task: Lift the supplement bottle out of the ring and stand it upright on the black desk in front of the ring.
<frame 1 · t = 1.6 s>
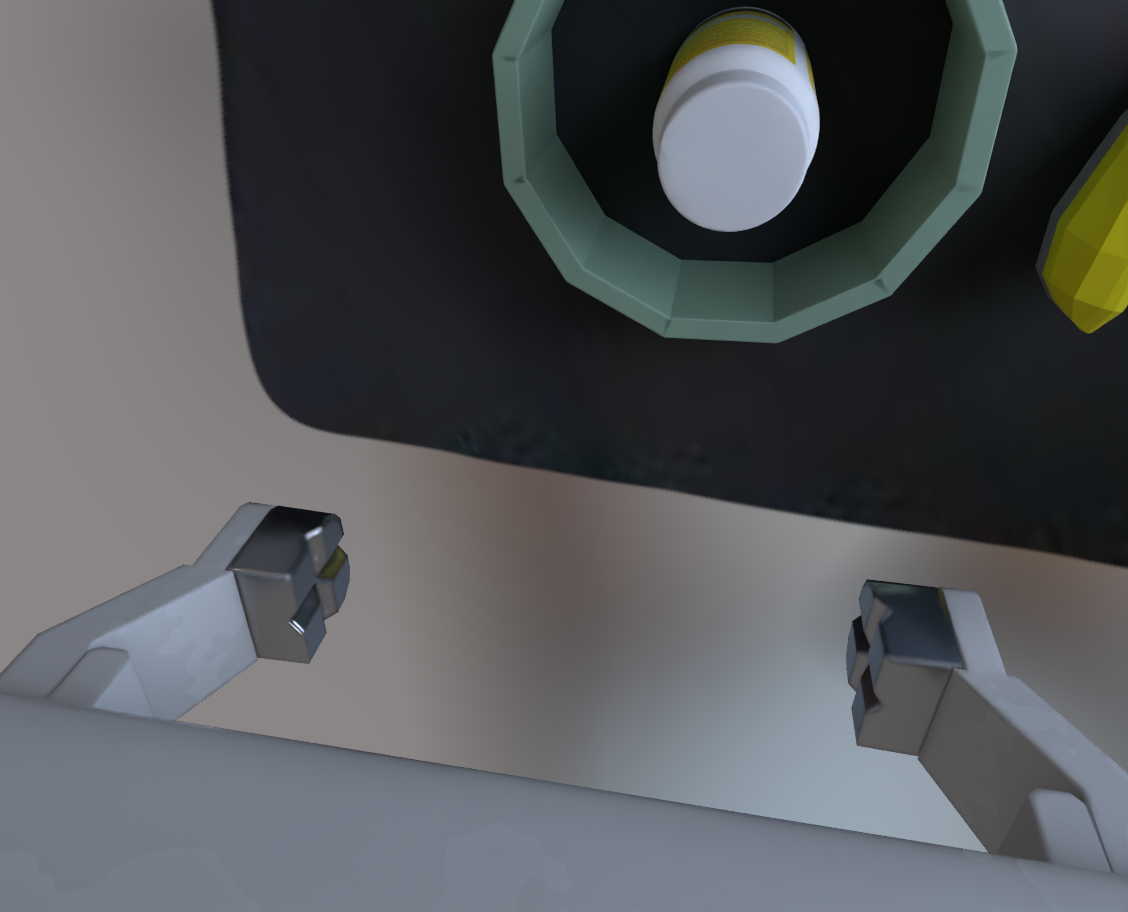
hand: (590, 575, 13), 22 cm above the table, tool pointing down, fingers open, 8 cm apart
ring: (739, 82, 29), on the table
supplement bottle: (739, 81, 29), resting in ring
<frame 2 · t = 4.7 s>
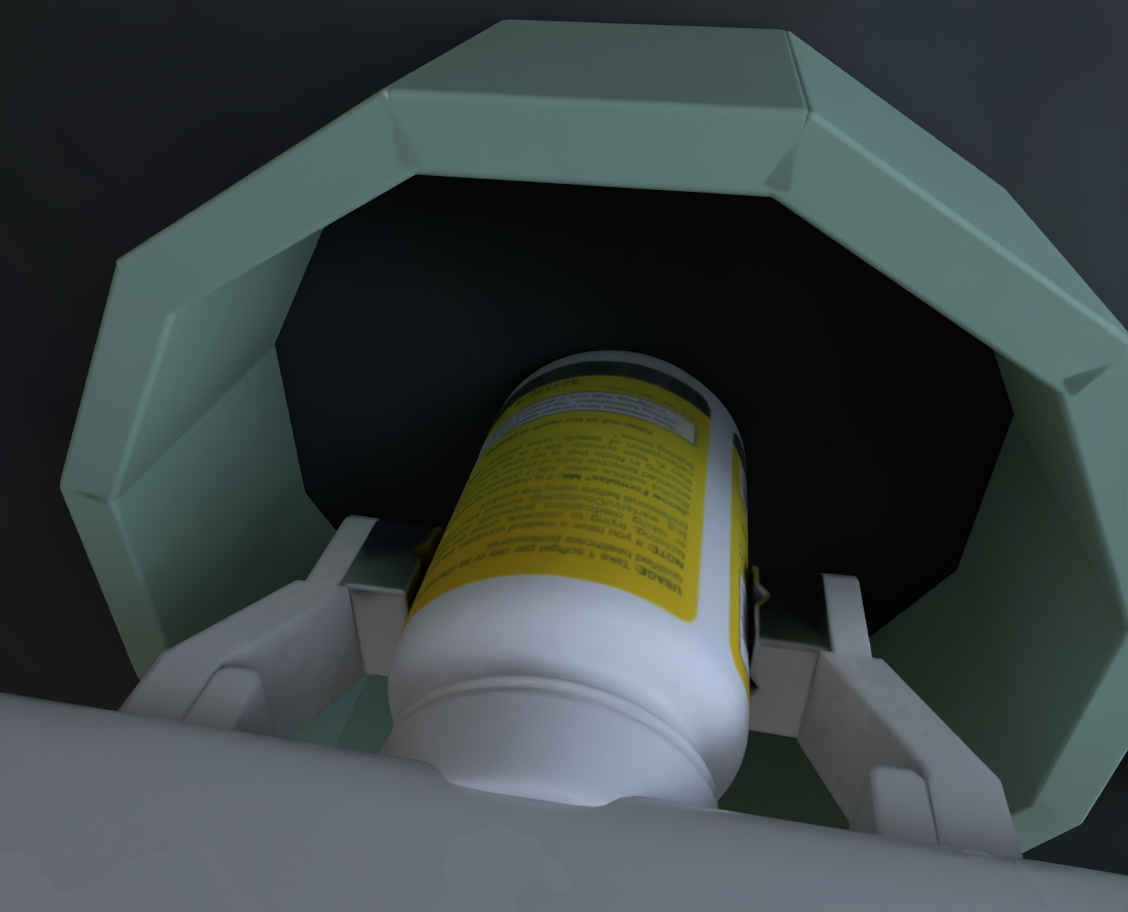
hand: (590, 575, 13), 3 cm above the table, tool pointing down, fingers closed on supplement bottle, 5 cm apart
ring: (617, 457, 16), on the table
supplement bottle: (619, 451, 16), resting in ring, touching gripper
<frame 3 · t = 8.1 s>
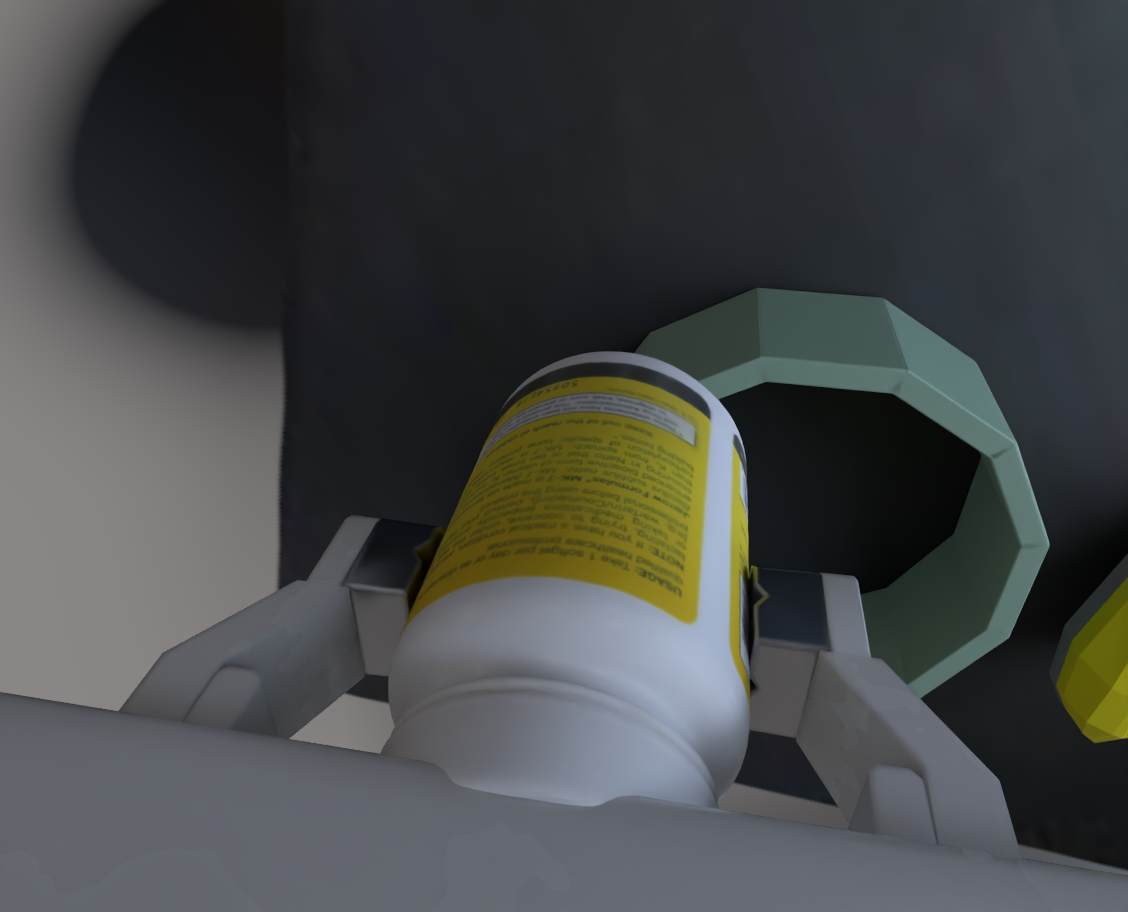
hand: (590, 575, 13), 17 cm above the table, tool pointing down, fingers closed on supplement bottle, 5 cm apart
ring: (782, 476, 31), on the table
supplement bottle: (619, 452, 16), point 13 cm above the table, touching gripper
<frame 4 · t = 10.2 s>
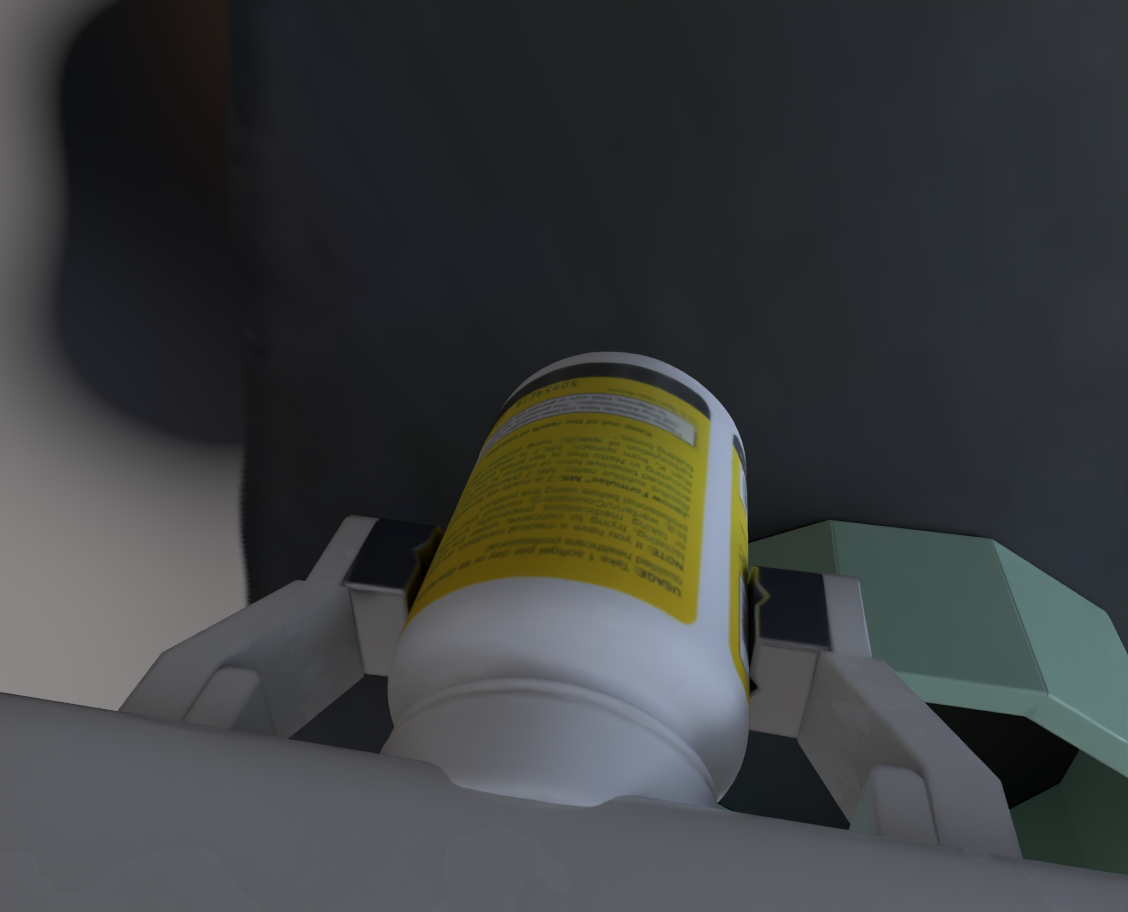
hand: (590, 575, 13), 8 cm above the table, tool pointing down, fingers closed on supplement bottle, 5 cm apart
ring: (850, 713, 25), on the table
supplement bottle: (619, 452, 16), point 5 cm above the table, touching gripper
when the fingers open (3 cm above the table, at t = 11.8 s): supplement bottle stays where it is, on the table.
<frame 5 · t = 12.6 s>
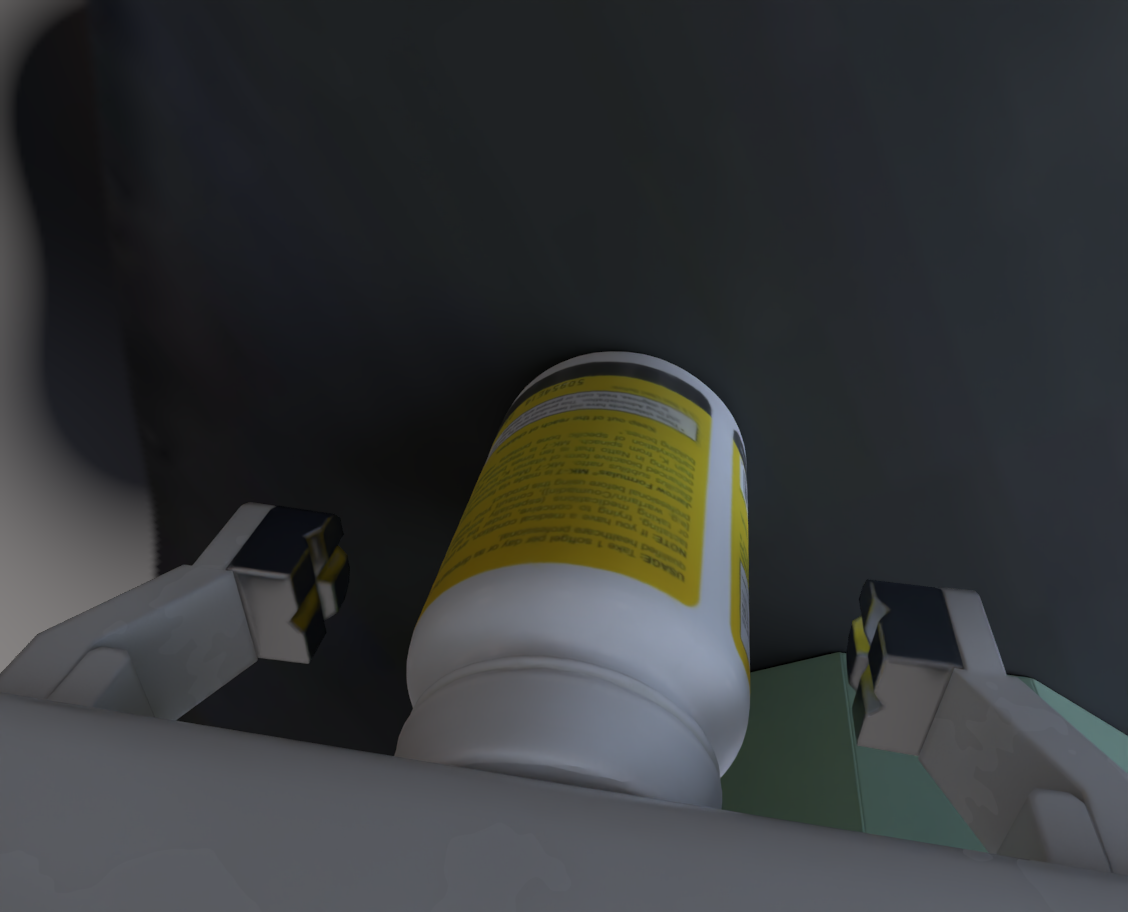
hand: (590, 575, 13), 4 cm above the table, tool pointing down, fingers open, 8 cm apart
ring: (862, 853, 22), on the table
supplement bottle: (623, 449, 17), on the table
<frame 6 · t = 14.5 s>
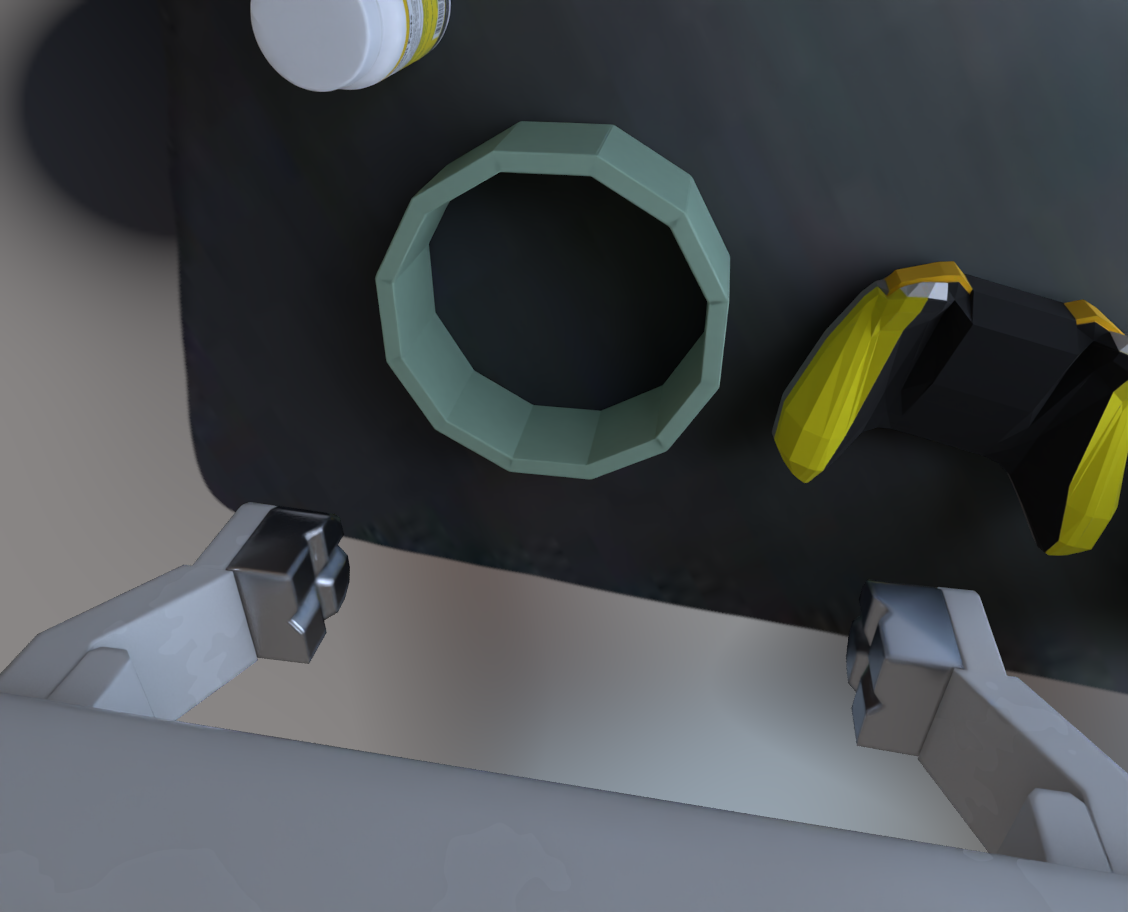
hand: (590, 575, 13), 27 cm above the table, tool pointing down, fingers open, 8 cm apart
ring: (566, 287, 39), on the table
gaming controller: (955, 372, 38), on the table
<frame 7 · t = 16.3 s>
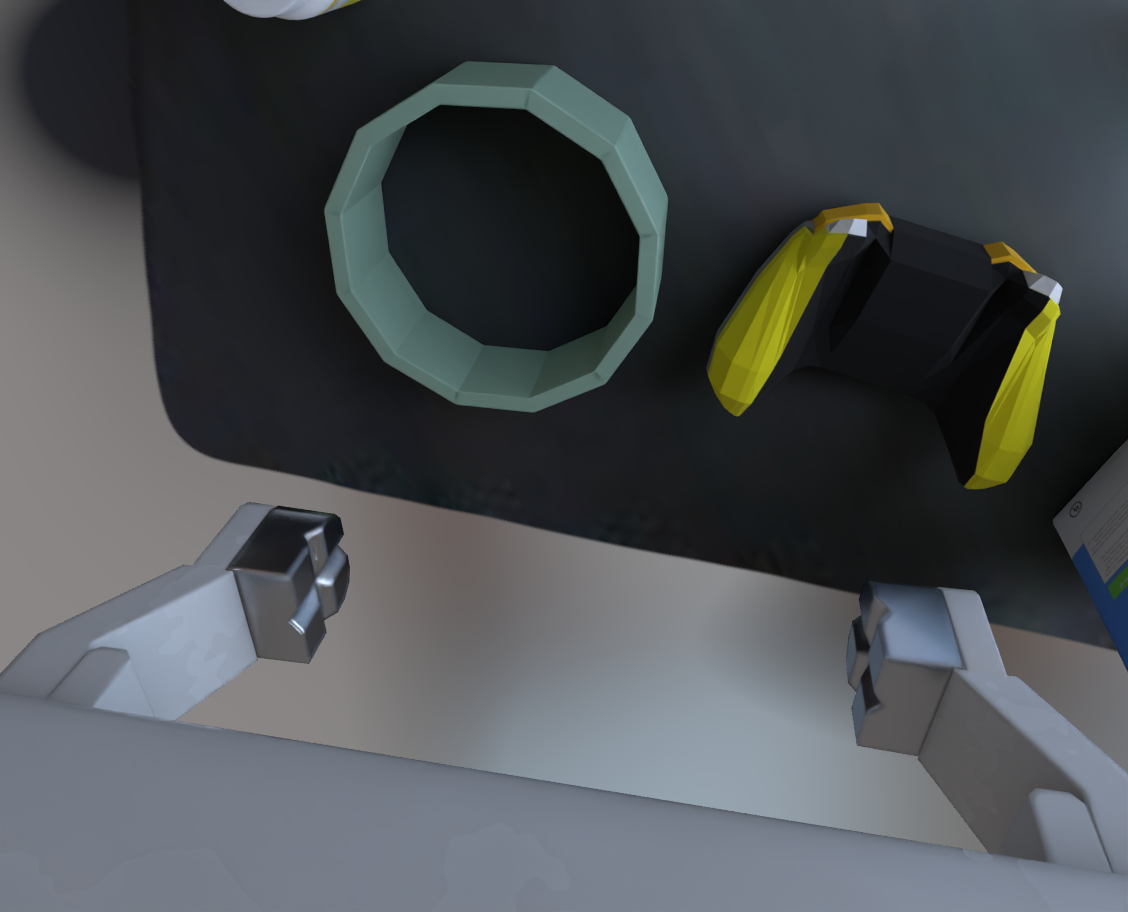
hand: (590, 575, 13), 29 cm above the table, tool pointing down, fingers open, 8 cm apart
ring: (513, 227, 41), on the table
gaming controller: (884, 314, 40), on the table
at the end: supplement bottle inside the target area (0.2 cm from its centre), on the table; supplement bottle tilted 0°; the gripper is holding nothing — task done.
